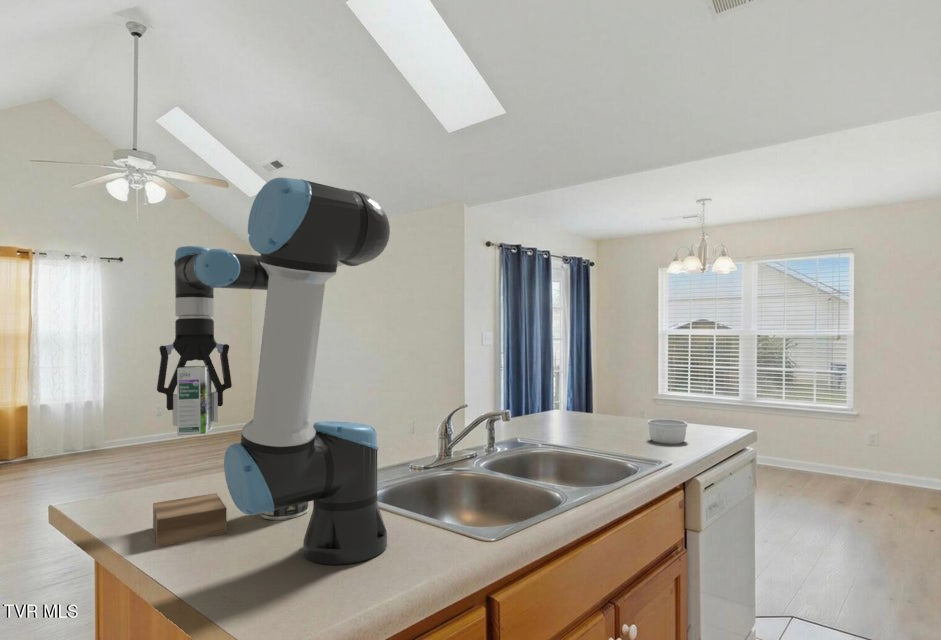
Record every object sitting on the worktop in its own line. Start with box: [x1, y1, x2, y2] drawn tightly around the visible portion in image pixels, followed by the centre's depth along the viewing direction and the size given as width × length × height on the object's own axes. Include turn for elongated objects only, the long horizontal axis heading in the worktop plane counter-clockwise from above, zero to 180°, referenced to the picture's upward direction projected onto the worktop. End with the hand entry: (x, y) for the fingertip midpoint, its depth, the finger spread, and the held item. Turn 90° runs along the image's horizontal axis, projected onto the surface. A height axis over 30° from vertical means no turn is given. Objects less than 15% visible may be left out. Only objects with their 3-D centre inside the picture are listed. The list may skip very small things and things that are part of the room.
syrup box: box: [176, 365, 213, 436], centre depth 118 cm, size 6×6×14 cm
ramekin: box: [647, 418, 688, 445], centre depth 194 cm, size 13×13×7 cm
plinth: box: [152, 492, 227, 547], centre depth 110 cm, size 12×12×5 cm
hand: (195, 423), depth 118 cm, fingers closed on syrup box, 7 cm apart
